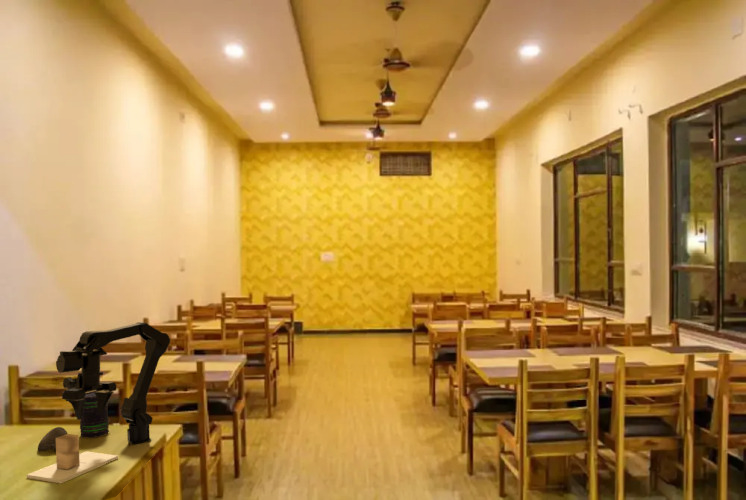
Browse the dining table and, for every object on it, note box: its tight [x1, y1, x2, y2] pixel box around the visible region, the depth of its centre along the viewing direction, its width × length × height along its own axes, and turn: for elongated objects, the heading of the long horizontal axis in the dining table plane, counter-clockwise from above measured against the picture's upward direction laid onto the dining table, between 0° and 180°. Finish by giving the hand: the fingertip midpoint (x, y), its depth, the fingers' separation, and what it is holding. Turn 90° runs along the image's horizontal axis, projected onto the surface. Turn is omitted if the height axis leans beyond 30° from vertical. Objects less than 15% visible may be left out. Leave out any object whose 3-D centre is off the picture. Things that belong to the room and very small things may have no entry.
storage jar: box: [79, 393, 110, 439], centre depth 230 cm, size 10×10×15 cm
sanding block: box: [55, 433, 80, 470], centre depth 191 cm, size 4×4×10 cm
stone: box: [37, 426, 69, 452], centre depth 214 cm, size 10×8×10 cm
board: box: [26, 451, 119, 484], centre depth 193 cm, size 22×14×1 cm, turn 157°
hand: (89, 416), depth 205 cm, fingers open, 9 cm apart
